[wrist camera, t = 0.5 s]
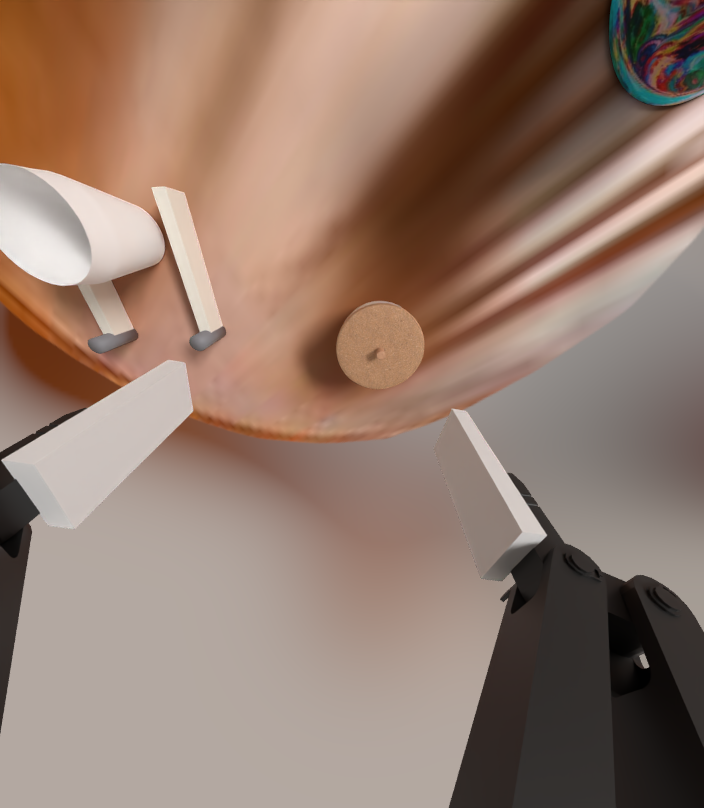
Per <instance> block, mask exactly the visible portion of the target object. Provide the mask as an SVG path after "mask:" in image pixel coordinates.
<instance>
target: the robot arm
mask: <svg viewBox="0 0 704 808" xmlns="http://www.w3.org/2000/svg"><path fill="white" fill-rule="evenodd" d="M192 412H193V406H192V400H191V394H190V388H189V382H188V376H187V370H186V364H185V363H184V362H178V361H172V360H167V361H166V362H164V363H162V364H161V365H159V366H157V367H156V368H154V369H152V370H151V371H149V372H147V373H146V374H144V375H142V376H141V377H139V378H137V379H136V380H134V381H132V382H131V383H129V384H127V385H126V386H124V387H122V388H120V389H119V390H117V391H115V392H114V393H112V394H110V395H109V396H107V397H105V398H104V399H102V400H101V401H99V402H98V403H96V404H94V405H92V406H90V407H89V408H83V409H80V410H78V411H75V412H72V413H69V414H66V415H64V416H62V417H61V418H59V419H57V420H55V421H54V422H52V423H50V425H49V426H45V427H43V428H42V429H40V430H38V431H36V434H31V435H29V436H28V437H26V438H24V439H22V440H21V441H19V442H17V443H16V444H14V445H12V446H10V447H9V448H7V449H5V450H3V451H2V452H0V732H1V725H2V719H3V713H4V706H5V700H6V694H7V687H8V681H9V674H10V668H11V662H12V655H13V649H14V643H15V636H16V630H17V624H18V617H19V611H20V605H21V598H22V591H23V586H24V579H25V573H26V566H27V560H28V554H29V547H30V541H31V535H32V530H31V526H30V525H29V522H30V521H31V520H33V519H34V518H35V517H36V516H37V515H38V514H40V515H41V517H42V518H43V519H44V521H45V522H46V524H47V525H48V526H53V527H61V528H69V529H75V528H76V527H78V526H79V525H80V524H81V523H82V522H83V521H84V520H85V519H86V518H87V517H88V516H89V515H90V514H91V513H92V512H93V511H94V510H95V509H96V508H97V507H98V506H99V505H100V504H101V503H102V502H103V501H104V500H105V499H106V498H107V497H108V496H109V495H110V494H111V492H113V491H114V490H115V489H116V488H117V487H118V486H119V485H120V484H121V483H122V481H124V480H125V479H126V478H127V477H128V476H129V475H130V474H131V473H132V472H133V471H134V470H135V469H136V468H137V467H138V466H139V465H140V464H141V463H142V462H143V461H144V460H145V459H146V458H147V457H148V455H150V454H151V453H152V452H153V451H154V450H155V449H156V448H157V446H159V445H160V444H161V443H162V442H163V441H164V440H165V439H166V438H167V437H168V435H170V434H171V433H172V432H173V431H174V430H175V429H176V428H177V427H178V426H179V425H180V424H181V423H182V422H183V421H184V420H185V419H186V418H187V417H188V416H189V415H190V414H191V413H192ZM434 452H435V455H436V457H437V460H438V463H439V465H440V468H441V471H442V474H443V476H444V479H445V482H446V485H447V487H448V490H449V493H450V496H451V498H452V501H453V504H454V507H455V509H456V512H457V515H458V518H459V520H460V523H461V526H462V529H463V531H464V534H465V537H466V539H467V542H468V545H469V548H470V550H471V553H472V556H473V559H474V561H475V564H476V567H477V569H478V572H479V575H480V578H481V579H487V580H495V581H503V580H504V579H505V577H506V576H507V575H509V573H510V572H511V573H512V575H513V578H514V580H515V582H516V583H515V584H514V585H513V586H512V587H511V588H510V589H509V590H508V591H507V592H506V593H505V594H504V595H503V596H502V597H501V599H500V600H502V601H503V602H504V601H505V600H506V599H507V598H508V601H507V605H506V609H505V612H504V616H503V619H502V623H501V626H500V630H499V633H498V637H497V640H496V644H495V647H494V651H493V654H492V658H491V661H490V665H489V668H488V672H487V675H486V679H485V682H484V686H483V689H482V693H481V696H480V700H479V703H478V707H477V711H476V714H475V717H474V721H473V724H472V728H471V731H470V735H469V739H468V742H467V746H466V750H465V753H464V756H463V760H462V763H461V767H460V770H459V774H458V777H457V781H456V784H455V788H454V791H453V795H452V798H451V802H450V805H449V808H704V632H703V630H702V629H701V627H700V625H699V623H698V621H697V620H696V618H695V616H694V615H693V614H692V612H691V611H690V609H689V608H688V607H687V605H686V604H685V603H684V602H683V601H682V600H681V599H680V598H679V597H678V596H677V595H676V594H675V593H674V592H672V591H671V590H669V588H667V587H666V586H664V585H663V584H661V583H659V582H658V581H656V580H654V579H652V578H649V577H647V576H644V575H636V576H635V577H633V578H632V579H630V580H628V581H627V582H625V581H622V580H620V579H618V578H616V577H613V576H611V575H608V574H606V573H604V572H602V571H601V570H600V569H599V567H598V566H597V565H596V564H595V562H594V561H593V560H592V559H591V558H590V557H589V556H587V555H586V554H585V553H583V552H582V551H581V550H579V549H577V548H575V547H573V546H571V545H568V544H565V543H564V542H563V540H562V539H561V538H560V536H559V535H558V533H557V532H556V530H555V529H554V527H553V526H552V525H551V523H550V521H549V520H548V519H547V517H546V516H545V514H544V513H543V511H542V510H541V508H540V507H538V504H537V503H536V501H535V500H534V498H533V497H531V494H530V493H529V491H528V490H527V488H526V487H525V485H524V484H523V483H522V482H521V481H520V480H519V479H518V478H517V477H516V476H514V475H513V474H512V473H506V471H505V470H504V468H503V467H502V465H501V464H500V462H499V461H498V459H497V457H496V456H495V454H494V453H493V451H492V450H491V448H490V447H489V445H488V443H487V442H486V440H485V439H484V437H483V436H482V434H481V433H480V431H479V430H478V428H477V427H476V425H475V424H474V422H473V420H472V419H471V417H470V416H469V414H468V413H467V411H463V410H457V409H452V410H451V412H450V414H449V417H448V419H447V421H446V423H445V425H444V428H443V430H442V432H441V434H440V437H439V438H438V441H437V443H436V445H435V447H434ZM644 653H645V656H646V659H647V661H648V664H649V668H644V667H643V665H642V663H641V660H640V657H639V655H642V654H644Z"/></svg>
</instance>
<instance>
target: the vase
mask: <svg viewBox="0 0 704 808" xmlns="http://www.w3.org/2000/svg"><path fill="white" fill-rule="evenodd" d="M609 43H610V52H611V59H612V63H613V67H614V70H615V72H616V75H617V77H618V79H619V81H620V83H621V84H622V86H623V87H624V88H625V90H626V91H627V92H628V93H629V94H630V95H631V96H633V97H634V98H636V99H637V100H639V101H641V102H643V103H646V104H650V105H656V106H668V105H674V104H679V103H683V102H686V101H689V100H692V99H694V98H697V97H699V96H701V95H703V94H704V0H612V3H611V11H610V20H609Z"/></svg>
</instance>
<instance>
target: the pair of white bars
mask: <svg viewBox="0 0 704 808" xmlns="http://www.w3.org/2000/svg"><path fill="white" fill-rule="evenodd" d="M151 188H152V191H153V194H154V197H155V200H156V203H157V206H158V208H159V211H160V214H161V217H162V220H163V223H164V226H165V229H166V232H167V235H168V238H169V241H170V244H171V247H172V250H173V253H174V256H175V259H176V262H177V265H178V268H179V271H180V274H181V277H182V280H183V283H184V286H185V289H186V292H187V295H188V298H189V301H190V304H191V307H192V310H193V313H194V316H195V319H196V322H197V325H198V328H199V331H200V332H199V333H198V334H196V335H194V336H192V337H191V338H190V340H189V342H190V345H191V346H192V348H194V349H195V350H197V351H202V350H204V349H206V348H207V347H209V346H210V345H212V344H213V343H215V342H216V341H218V340H219V339H221V338H222V337H224V336H225V335H226V330H225V328H224V327H223V325H222V321H221V318H220V314H219V311H218V308H217V304H216V301H215V297H214V294H213V290H212V287H211V283H210V280H209V276H208V273H207V269H206V266H205V262H204V259H203V255H202V252H201V248H200V245H199V241H198V238H197V234H196V231H195V227H194V224H193V221H192V217H191V214H190V210H189V207H188V203H187V200H186V196H185V193H184V192H181V191H178V190H174V189H171V188H168V187H151ZM78 287H79V289H80V291H81V293H82V295H83V296H84V298H85V300H86V302H87V304H88V306H89V308H90V310H91V312H92V313H93V315H94V317H95V319H96V321H97V323H98V325H99V327H100V329H101V330H102V332H103V334H104V335H101V336H98V337H95V338H92V339H89V340H88V345H89V347H90V349H91V350H93V351H94V352H96V353H99V354H101V353H104V352H107V351H109V350H111V349H114V348H116V347H119V346H121V345H124V344H126V343H129V342H131V341H133V340H136V339H137V338H138V333H137V331H136V330H135V329H134V328H133V326H132V324H131V322H130V319H129V317H128V315H127V313H126V311H125V309H124V306H123V304H122V302H121V300H120V298H119V296H118V294H117V291H116V289H115V287H114V285H113V283H112V281H111V280H110V281H107V282H104V283H99V284H86V285H78Z"/></svg>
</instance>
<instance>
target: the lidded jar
mask: <svg viewBox="0 0 704 808" xmlns="http://www.w3.org/2000/svg"><path fill="white" fill-rule="evenodd" d="M423 353H424V336H423V333H422V329H421V327H420V326H419V324H418V322H417V321H416V319H415V318H414V317H413V316H412V315H411V314H410V313H409V312H408V311H406V310H405V309H403V308H402V307H400V306H399V305H396V304H394V303H391V302H387V301H372V302H369V303H366V304H364V305H361V306H360V307H358V308H357V309H355V310H354V311H353V312H352V313H351V314H350V315H349V316H348V317H347V319H346V320H345V322H344V324H343V325H342V327H341V329H340V331H339V334H338V337H337V343H336V354H337V359H338V362H339V365H340V367H341V369H342V370H343V372H344V373H345V375H346V376H347V377H348V378H349V379H351V380H352V381H353V382H355V383H357V384H358V385H360V386H363V387H366V388H371V389H386V388H390V387H393V386H396V385H398V384H400V383H402V382H404V381H405V380H406V379H408V378H409V377H410V376H411V375H412V374H413V373H414V372H415V370H416V369H417V368H418V366H419V364H420V362H421V360H422V357H423Z"/></svg>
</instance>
